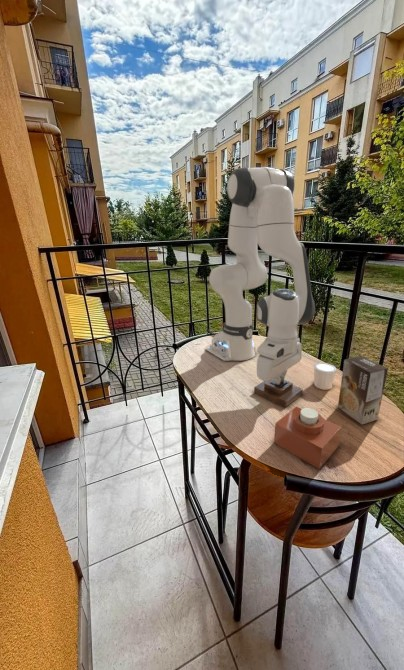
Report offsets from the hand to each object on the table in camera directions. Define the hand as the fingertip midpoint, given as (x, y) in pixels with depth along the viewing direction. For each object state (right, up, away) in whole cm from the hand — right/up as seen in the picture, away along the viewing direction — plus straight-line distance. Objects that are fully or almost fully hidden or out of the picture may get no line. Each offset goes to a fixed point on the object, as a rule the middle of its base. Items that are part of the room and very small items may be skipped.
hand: (279, 382), depth 91 cm
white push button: (+1, -5, -23) cm, 23 cm away
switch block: (0, -4, +2) cm, 4 cm away
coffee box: (+20, -7, -9) cm, 23 cm away
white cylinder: (+16, -2, +5) cm, 17 cm away
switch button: (0, -2, +1) cm, 2 cm away
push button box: (+1, -12, -20) cm, 24 cm away
